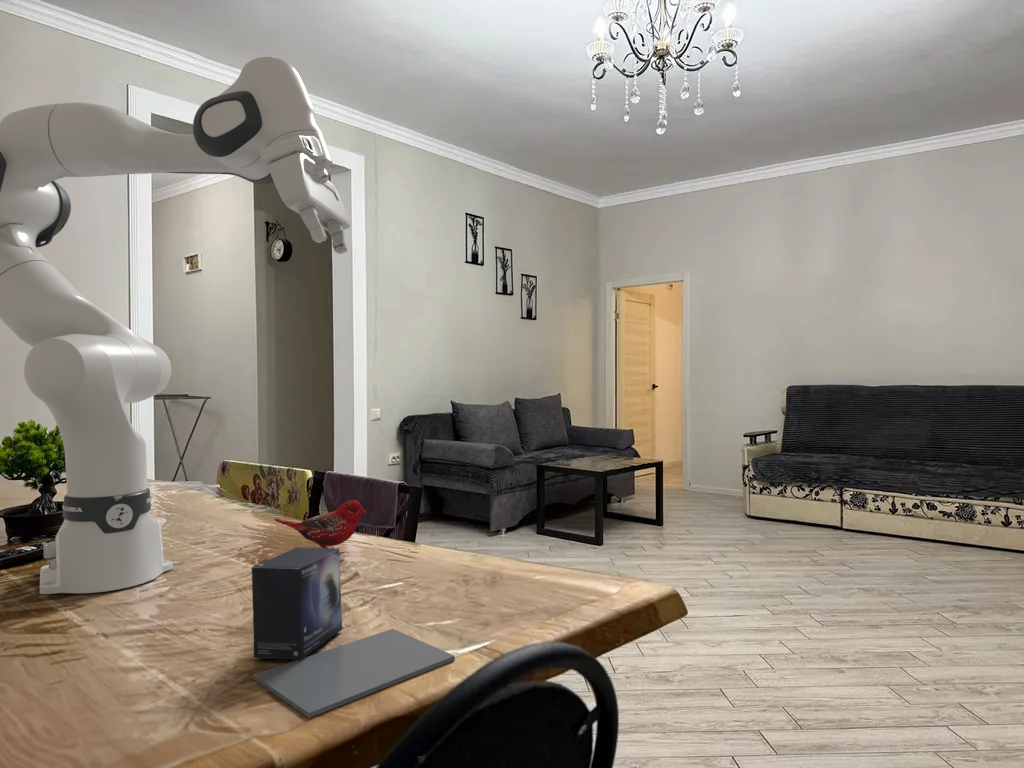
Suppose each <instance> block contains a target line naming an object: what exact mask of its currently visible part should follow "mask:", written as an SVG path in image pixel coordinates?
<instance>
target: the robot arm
mask: <svg viewBox="0 0 1024 768" xmlns="http://www.w3.org/2000/svg"><path fill="white" fill-rule="evenodd" d="M315 114H316V113H315V109H314V107H313V104H312V100H311V97H310V96H309V93H308V91H307V88H306V86H305V84H304V82H303V80H302V78H301V76H300V74H299V72H298V71H297V70H296V68H295V67H294V66H292V65H291V63H289V62H287V61H285V60H283V59H281V58H276V57H272V56H263V57H261V56H260V57H257V58H254V59H251V60H249V61H248V62H246V63H245V64H244V66H243V67H242V69H241V70H240V73H239V76H238V77H237V78H236V80H235V81H234V82H233V83H232V84H231V85H230V86H228V88H227V89H226V90H224V91H223V92H222V93H220V94H219V95H216V96H214V97H211V98H209V99H207V100H205V101H204V102H203V103H202V104H201V105H200V106H199V107H198V108H197V110H196V112H195V115H194V118H193V121H192V133H191V134H190V133H189V134H188V133H187V134H186V133H185V134H184V133H175V132H171V131H167V130H165V129H160V128H158V127H156V126H153V125H150V124H148V123H146V122H144V121H141V120H139V119H138V118H135V117H134V116H132V115H129V114H126V113H125V112H123V111H120V110H118V109H116V108H113V107H110V106H107V105H101V104H96V103H88V102H64V103H63V102H62V103H61V102H60V103H50V104H44V105H37V106H32V107H27V108H24V109H20V110H16V111H14V112H11V113H10V112H9V113H8V114H7V115H6V116H4V117H3V118H2V119H1V120H0V320H1V321H3V323H4V324H5V325H6V326H7V327H8V328H9V329H10V330H11V331H12V332H13V333H14V334H15V335H16V336H17V337H18V338H19V339H20V340H21V341H23V342H24V343H26V344H27V345H28V346H31V347H32V348H31V349H30V351H29V352H28V354H27V355H26V359H25V361H24V367H23V373H24V374H23V375H24V378H25V379H24V380H25V383H26V384H27V387H28V389H29V390H30V391H31V392H32V393H33V395H34V396H35V397H36V398H37V399H39V400H40V401H41V402H42V403H44V404H45V405H46V407H47V408H48V409H49V411H50V413H51V415H52V416H53V418H54V421H55V423H56V426H57V427H58V431H59V433H60V435H61V440H62V443H63V448H64V449H63V450H64V461H65V478H66V494H65V496H63V503H62V507H61V508H62V517H63V519H64V520H63V522H62V524H61V525H60V527H59V530H58V531H57V533H56V536H55V540H54V541H52V540H51V541H49V542H48V543H44V544H43V547H42V548H43V559H46V560H47V559H51V558H55V560H49V562H48V564H46V565H43V566H41V567H40V572H39V594H40V595H52V594H53V595H54V594H93V593H103V592H111V591H116V590H121V589H127V588H132V587H135V586H139V585H141V584H145V583H147V582H150V581H152V580H154V579H156V578H158V577H159V576H161V575H162V574H163V573H165V572H168V571H171V570H172V569H174V566H173V561H171V560H169V559H168V560H167V559H165V558H164V552H163V551H164V550H163V549H164V548H163V547H164V546H163V538H162V527H161V522H160V520H158V519H157V518H155V517H154V516H152V514H151V512H150V511H151V510H152V504H151V502H152V496H151V489H150V488H149V487H148V479H147V478H148V475H147V474H148V472H147V444H146V441H145V439H144V438H143V436H142V435H141V434H140V433H139V432H137V431H136V430H135V428H134V427H133V425H132V423H131V420H130V417H129V415H128V411H127V408H126V404H134V403H135V404H136V403H140V402H142V401H145V400H147V399H150V398H152V397H154V396H156V395H158V394H161V392H162V391H164V390H165V389H166V388H167V387H168V385H169V383H170V380H171V376H172V364H171V361H170V358H169V356H168V354H167V353H166V352H165V351H164V350H163V349H162V348H161V347H159V346H157V345H156V344H153V343H151V342H150V341H148V340H146V339H144V338H143V337H141V336H139V334H136V333H135V332H134V331H132V330H131V329H129V328H128V327H127V326H125V325H124V324H123V323H122V322H120V321H118V320H117V319H115V318H114V317H113V316H111V315H110V314H108V313H107V312H105V311H104V310H103V309H101V308H100V307H98V306H97V305H95V304H94V303H93V302H91V301H90V300H88V298H87V297H85V296H84V295H83V294H82V293H81V292H80V291H79V290H78V289H77V288H76V287H75V286H74V285H73V284H72V283H71V282H70V281H69V280H68V279H67V278H65V276H64V275H63V274H62V273H60V271H59V270H58V269H57V268H56V267H55V266H54V265H53V264H52V263H51V262H50V261H49V260H48V259H47V258H46V257H45V256H43V254H41V252H40V251H39V250H38V249H37V248H40V247H44V246H46V245H49V244H50V243H51V242H52V241H53V237H54V236H56V235H58V234H59V233H60V232H61V231H62V230H63V229H64V227H65V225H67V222H68V220H69V218H70V215H71V211H72V205H71V204H72V203H71V199H70V196H69V194H68V192H67V191H66V190H65V189H64V188H63V186H61V185H60V184H59V183H58V182H56V180H59V179H64V178H87V177H88V178H89V177H107V176H121V175H122V176H123V175H136V174H137V175H138V174H139V175H142V174H143V175H147V174H160V173H161V174H185V175H186V174H188V175H189V174H191V175H193V174H195V175H201V174H202V175H230V176H235V177H239V178H241V179H244V180H246V181H247V182H249V183H253V184H256V185H263V186H265V185H269V184H270V185H271V184H274V186H275V188H276V190H277V192H278V195H279V197H280V198H281V200H282V202H283V203H284V205H285V206H286V207H287V208H288V209H290V210H292V211H293V212H295V213H297V214H299V215H300V218H301V219H302V222H303V224H304V225H305V226H306V228H307V229H308V231H309V233H310V237H311V239H312V241H314V242H316V243H318V244H320V243H322V242H326V241H327V239H328V237H327V234H326V232H328V233H329V235H330V237H331V241H332V242H331V245H332V248H333V251H334V252H335V253H336V254H338V255H342V254H345V253H347V252H348V246H347V243H346V237H345V230H348V229H349V228H350V227H351V222H350V221H351V220H350V218H349V216H348V215H349V214H348V213H347V210H346V207H345V205H344V203H343V200H342V198H341V195H340V193H339V191H338V189H337V188H336V186H335V185H334V183H333V182H331V181H330V180H329V178H330V177H329V173H330V172H331V171H332V169H333V168H334V162H333V160H332V157H331V154H330V151H329V148H328V146H327V143H326V140H325V137H324V135H323V133H322V131H321V129H320V128H319V126H318V125H317V122H316V117H315Z"/></svg>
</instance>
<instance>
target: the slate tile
mask: <svg viewBox="0 0 1024 768" xmlns="http://www.w3.org/2000/svg"><path fill="white" fill-rule="evenodd" d="M455 660H456V655H454V654H452V653H450V652H447V651H445V650H442V649H441V648H439V647H435V646H433V645H431V644H429V643H426V642H424V641H422V640H420V639H417V638H415V637H413V636H411V635H408V634H406V633H404V632H402V631H400V630H397V629H394V628H391V629H387V630H384V631H382V632H379V633H376V634H372V635H370V636H367V637H364V638H361V639H360V638H359V639H357V640H354V641H351V642H348V643H345V644H342V645H339V646H336V647H334V648H333V647H332V648H331V649H327V650H324V651H321V652H318V653H314V654H312V655H309V656H308V655H307V656H306V657H304V658H303V659H301V660H292V661H291V662H288V663H285V664H281V665H279V666H275V667H273V668H269V669H266V670H263V671H260V672H257V673H255V674H252V680H253V681H255V682H256V683H258V684H259V685H261V686H262V687H263V688H264V689H267V691H269V692H270V693H272V694H274V695H275V696H276V697H278V698H279V699H280V700H281V701H283V702H285V703H287V704H288V705H289V704H290V705H289V706H290V707H293V708H294V709H295V710H296V711H298V712H300V713H301V714H302V715H304V716H305V717H307V718H308V719H311V718H314V717H316V716H319V715H321V714H324V713H326V712H328V711H331V710H333V709H336V708H339V707H340V706H344V705H346V704H349V703H351V702H354V701H356V700H358V699H361V698H363V697H366V696H368V695H371V694H373V693H377V692H379V691H381V690H384V689H385V688H388V687H391V686H394V685H396V684H399V683H400V682H404V681H406V680H408V679H411V678H414V677H416V676H419V675H421V674H423V673H425V672H428V671H431V670H434V669H436V668H438V667H441V666H443V665H446V664H449V663H450V662H454V661H455Z"/></svg>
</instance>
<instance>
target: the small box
mask: <svg viewBox="0 0 1024 768" xmlns="http://www.w3.org/2000/svg"><path fill="white" fill-rule="evenodd" d="M339 552H340V548H333V547H332V548H330V547H327V548H322V547H304V546H303V547H302V546H300V547H298V546H297V547H294V548H293V549H290V550H288V551H286V552H283V553H281V554H279V555H277V556H274V557H272V558H270V559H266V560H265V561H262V562H260V563H258V564H255V565H253V566H251V590H252V591H251V593H252V596H251V598H252V622H253V624H252V625H253V629H252V630H253V659H273V660H274V659H275V660H290V661H291V660H292V661H296V660H301V659H303V658H305V657H308V655H310V654H311V653H312V652H314V651H315V650H317V649H318V648H319V647H321V646H322V645H323V644H325V643H326V642H327V641H329V640H330V639H331V638H332V637H335V635H337V634H339V632H341V631H342V630H343V617H342V616H343V612H342V610H343V609H342V590H341V587H342V586H341V583H342V582H341V563H340V562H341V560H340V558H341V557H340V556H341V554H340V553H339Z"/></svg>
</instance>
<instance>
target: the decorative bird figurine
mask: <svg viewBox="0 0 1024 768" xmlns="http://www.w3.org/2000/svg"><path fill="white" fill-rule="evenodd" d="M363 514H367V511H366V510H365V509H364V508H363V507H362V504H361V503H360V502H359V501H358V500H355V499H351V500H348V501H345V502H343V503H342V504H341V505H340V506H339V507H337V509H335V510H334V511H331V512H328V513H323V514H320V515H316V516H312V517H311V518H308V519H305V520H303V521H301V522H296V521H290V520H285V519H280V518H274V521H276V522H278V523H280V524H282V525H285V526H286V527H290V528H293V529H294V530H295V531H297V532H298V533H299V534H300V535H301V536H302V537H303V538H304V539H305V540H308V541H311V542H312V543H315V544H317V545H319V546H320V548H328V547H333V546H339V545H341V544H343V543H344V542H345V543H346V541H348V540H349V539H350V538H351V537H352V536H353V535H354V534H355V531H356V530H357V527H358V524H359V522H360V520H361V518H362V515H363ZM339 553H340V555H341V554H346V552H344V551H339Z"/></svg>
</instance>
